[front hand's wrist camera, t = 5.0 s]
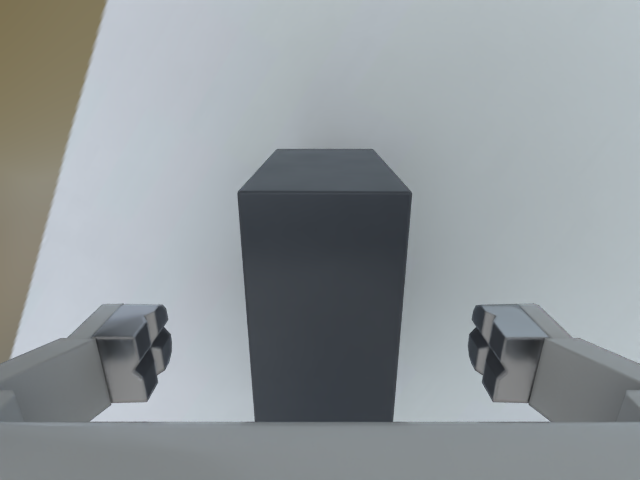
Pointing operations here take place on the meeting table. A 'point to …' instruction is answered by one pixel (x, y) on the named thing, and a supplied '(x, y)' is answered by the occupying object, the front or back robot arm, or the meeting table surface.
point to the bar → (324, 284)
